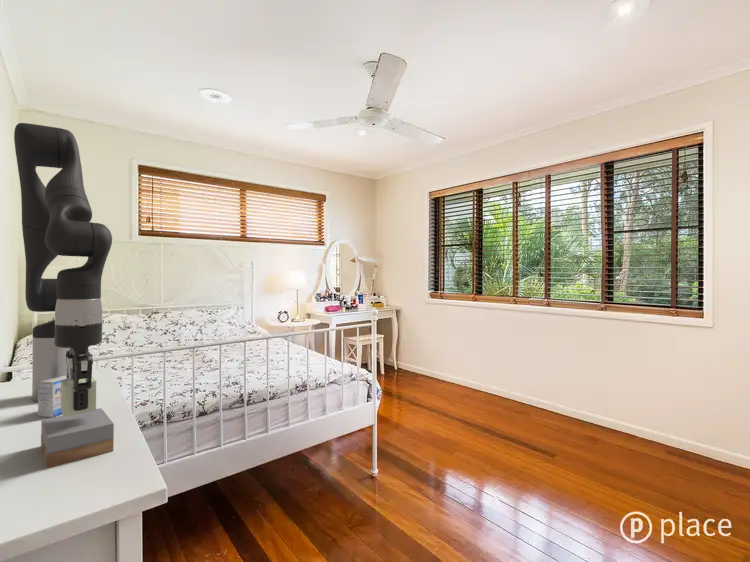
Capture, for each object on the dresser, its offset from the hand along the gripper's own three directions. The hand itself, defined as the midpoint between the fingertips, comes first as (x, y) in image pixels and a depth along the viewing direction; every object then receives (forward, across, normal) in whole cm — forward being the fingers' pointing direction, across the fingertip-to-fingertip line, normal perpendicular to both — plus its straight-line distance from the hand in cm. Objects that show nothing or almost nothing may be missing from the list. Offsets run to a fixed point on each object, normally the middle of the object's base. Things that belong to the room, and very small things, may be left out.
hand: (78, 405), depth 77 cm
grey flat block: (+6, 0, 0) cm, 6 cm away
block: (+1, 0, 0) cm, 1 cm away
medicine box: (+9, -28, 0) cm, 29 cm away
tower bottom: (+9, 0, 0) cm, 9 cm away
